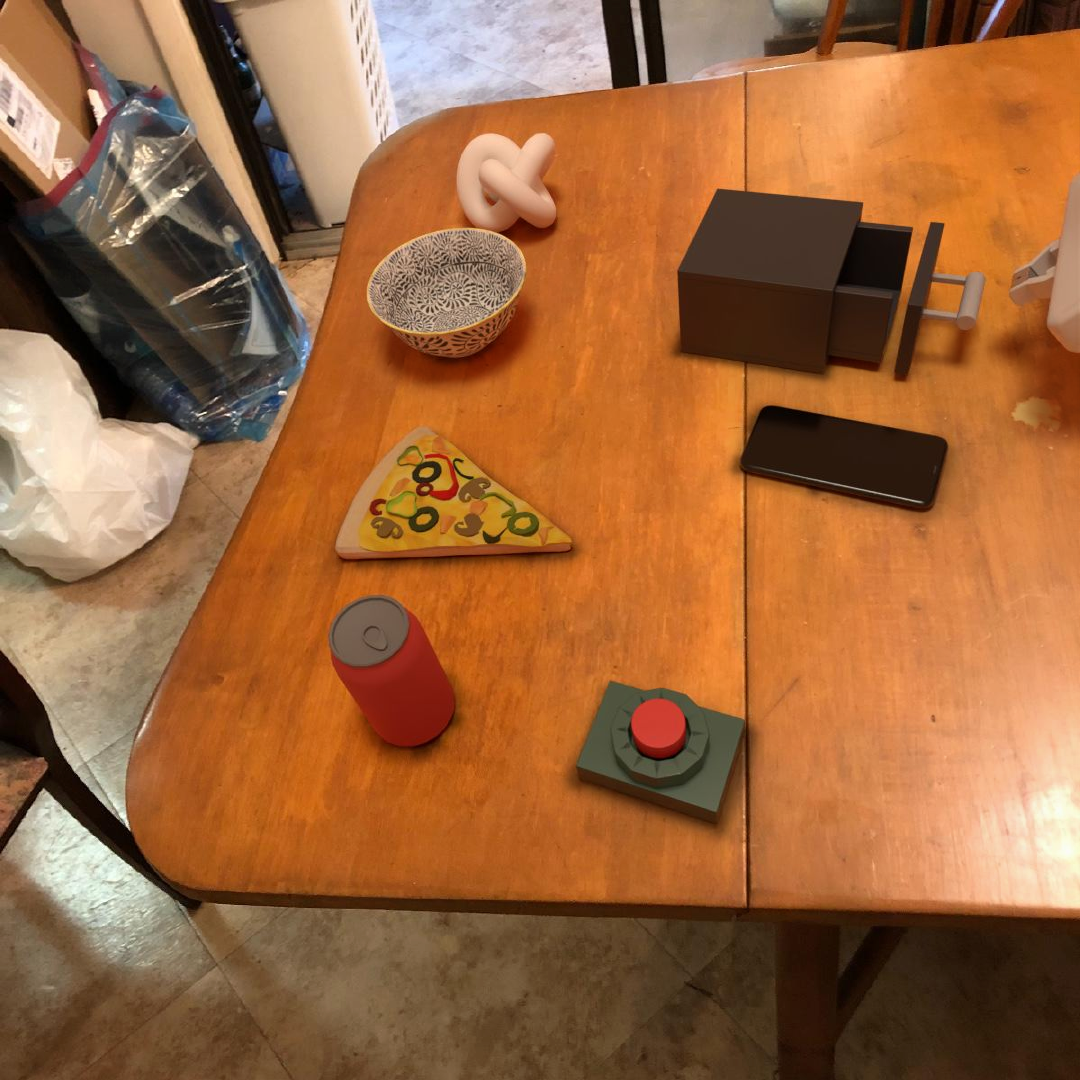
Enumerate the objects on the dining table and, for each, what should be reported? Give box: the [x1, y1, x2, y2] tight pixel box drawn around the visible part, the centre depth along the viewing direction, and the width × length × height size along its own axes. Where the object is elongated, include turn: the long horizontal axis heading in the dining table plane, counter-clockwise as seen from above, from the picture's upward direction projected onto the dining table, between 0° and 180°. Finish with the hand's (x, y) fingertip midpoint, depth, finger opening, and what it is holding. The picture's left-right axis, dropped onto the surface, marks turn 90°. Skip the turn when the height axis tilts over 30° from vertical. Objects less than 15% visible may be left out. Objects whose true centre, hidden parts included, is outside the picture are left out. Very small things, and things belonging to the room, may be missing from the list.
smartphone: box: [739, 404, 949, 509], centre depth 80 cm, size 8×1×16 cm
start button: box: [631, 699, 686, 758], centre depth 63 cm, size 4×4×2 cm
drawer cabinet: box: [676, 188, 864, 375], centre depth 88 cm, size 14×13×10 cm
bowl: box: [366, 227, 528, 359], centre depth 94 cm, size 16×16×8 cm
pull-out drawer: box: [827, 221, 987, 376], centre depth 85 cm, size 17×11×8 cm
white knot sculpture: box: [456, 132, 557, 233], centre depth 105 cm, size 11×12×9 cm
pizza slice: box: [334, 425, 573, 560], centre depth 81 cm, size 16×21×3 cm
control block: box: [575, 680, 746, 825], centre depth 65 cm, size 10×7×4 cm
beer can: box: [327, 594, 456, 747], centre depth 67 cm, size 7×7×12 cm
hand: (1014, 290), depth 79 cm, fingers closed
